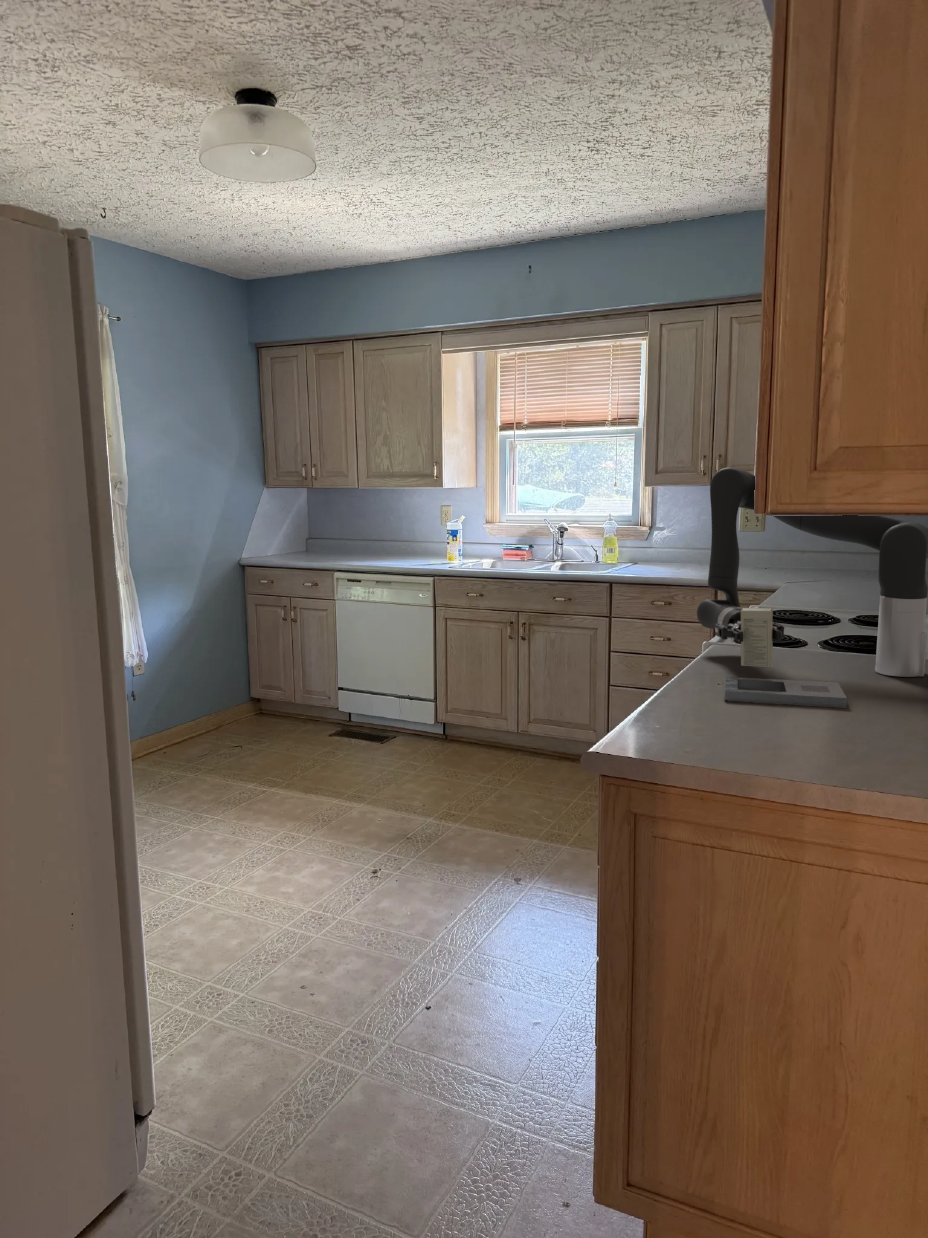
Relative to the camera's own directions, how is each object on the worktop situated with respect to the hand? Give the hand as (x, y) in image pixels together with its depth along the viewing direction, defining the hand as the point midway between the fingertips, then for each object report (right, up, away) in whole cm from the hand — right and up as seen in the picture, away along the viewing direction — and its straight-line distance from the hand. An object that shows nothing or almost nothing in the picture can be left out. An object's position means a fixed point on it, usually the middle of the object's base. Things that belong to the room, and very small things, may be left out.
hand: (760, 636), depth 178 cm
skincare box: (0, -6, +3) cm, 7 cm away
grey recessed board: (+1, -12, -10) cm, 16 cm away
